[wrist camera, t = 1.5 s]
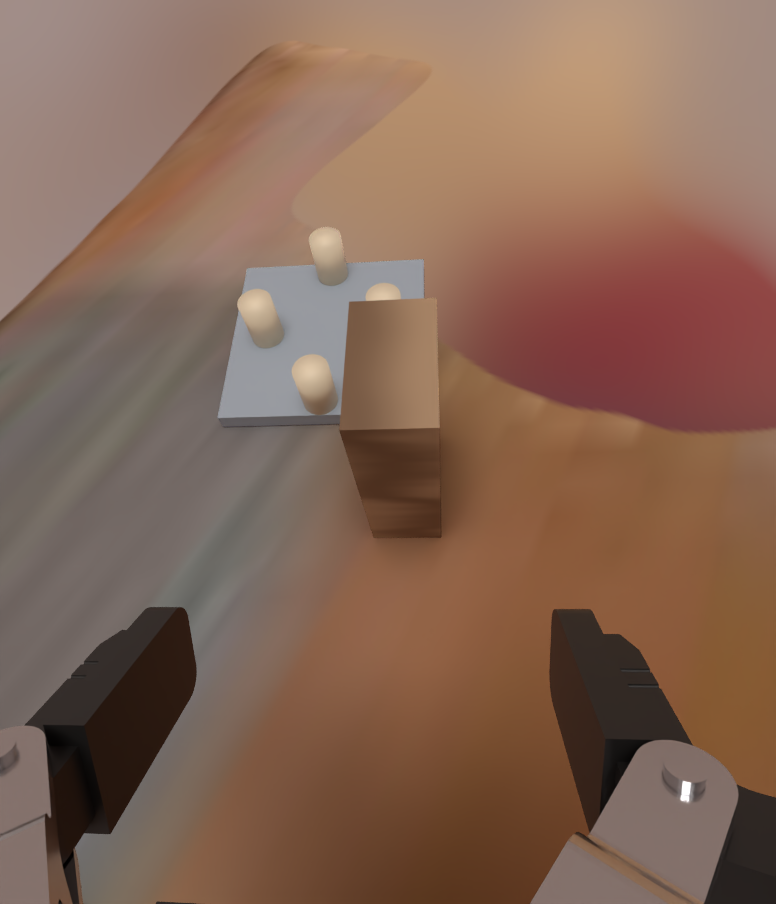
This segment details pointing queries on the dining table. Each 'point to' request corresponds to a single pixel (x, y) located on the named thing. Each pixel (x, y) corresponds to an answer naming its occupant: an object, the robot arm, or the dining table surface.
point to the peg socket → (303, 333)
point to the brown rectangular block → (394, 414)
